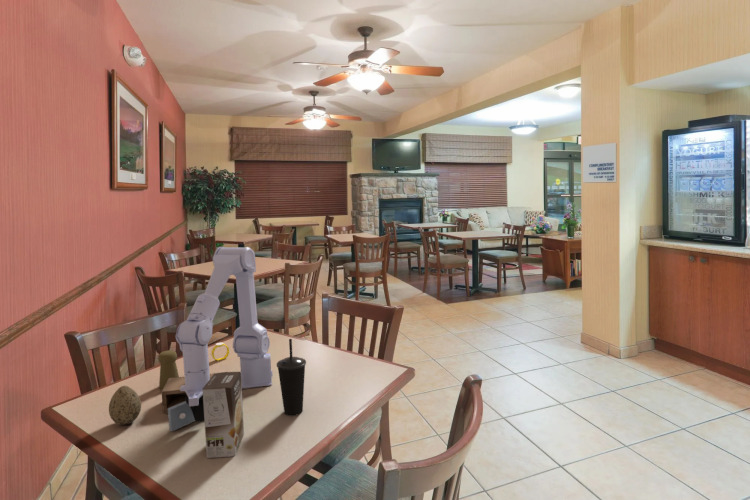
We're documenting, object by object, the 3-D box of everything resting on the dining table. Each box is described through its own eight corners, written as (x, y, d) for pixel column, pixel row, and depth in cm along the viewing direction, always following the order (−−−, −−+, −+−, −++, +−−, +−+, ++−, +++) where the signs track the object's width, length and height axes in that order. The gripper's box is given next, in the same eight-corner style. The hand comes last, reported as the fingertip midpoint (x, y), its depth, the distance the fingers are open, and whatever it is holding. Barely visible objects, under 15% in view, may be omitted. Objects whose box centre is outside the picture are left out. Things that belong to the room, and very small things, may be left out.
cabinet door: (227, 403, 118) (226, 384, 117) (233, 405, 117) (232, 386, 116) (169, 430, 105) (167, 408, 104) (175, 433, 103) (173, 411, 103)
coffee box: (235, 456, 94) (231, 387, 92) (206, 458, 93) (201, 389, 92) (244, 434, 103) (241, 370, 101) (217, 435, 103) (213, 372, 101)
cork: (172, 391, 127) (169, 355, 126) (154, 389, 129) (151, 354, 127) (184, 382, 133) (182, 348, 132) (167, 381, 135) (165, 347, 133)
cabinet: (228, 391, 127) (227, 371, 126) (225, 405, 118) (224, 384, 117) (170, 398, 123) (169, 378, 122) (163, 413, 114) (161, 391, 113)
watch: (214, 363, 150) (212, 347, 149) (211, 361, 152) (209, 345, 151) (231, 357, 154) (228, 342, 153) (227, 355, 156) (225, 340, 155)
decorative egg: (145, 423, 109) (142, 386, 108) (113, 433, 104) (109, 395, 103) (138, 413, 114) (135, 377, 113) (107, 422, 110) (104, 385, 108)
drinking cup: (283, 421, 109) (279, 346, 106) (275, 408, 115) (272, 337, 113) (311, 414, 112) (309, 340, 110) (302, 402, 119) (299, 333, 116)
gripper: (184, 359, 111) (188, 408, 112) (172, 382, 97) (177, 438, 98) (213, 356, 112) (216, 405, 114) (205, 378, 98) (209, 433, 100)
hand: (200, 420), depth 106 cm, fingers closed
